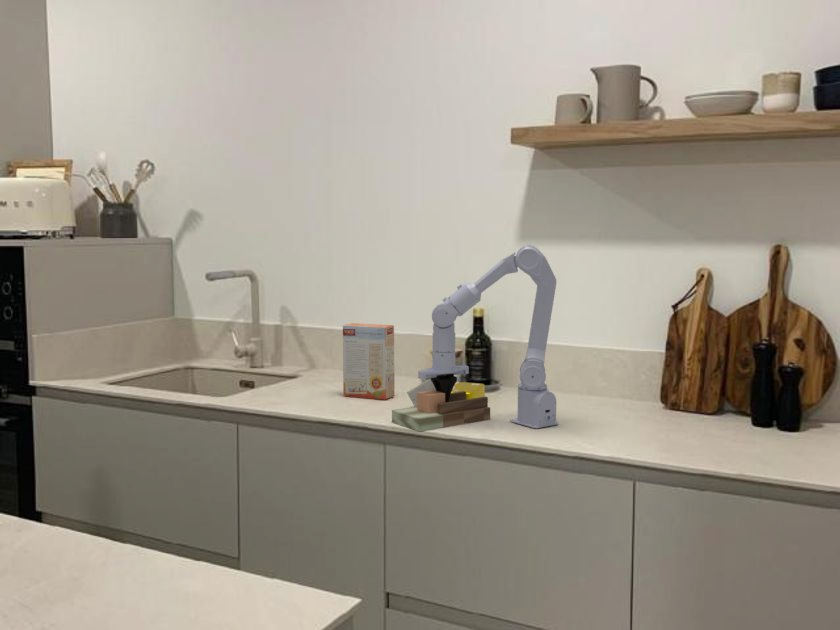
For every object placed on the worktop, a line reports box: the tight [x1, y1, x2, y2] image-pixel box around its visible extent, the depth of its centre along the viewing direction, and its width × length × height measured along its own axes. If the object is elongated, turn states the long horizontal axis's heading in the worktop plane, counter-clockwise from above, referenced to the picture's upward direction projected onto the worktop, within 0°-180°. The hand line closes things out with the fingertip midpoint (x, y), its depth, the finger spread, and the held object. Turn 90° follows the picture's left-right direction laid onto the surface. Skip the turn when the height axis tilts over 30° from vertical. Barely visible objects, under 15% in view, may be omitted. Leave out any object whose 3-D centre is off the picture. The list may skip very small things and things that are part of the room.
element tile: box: [451, 381, 486, 399], centre depth 236 cm, size 15×15×5 cm
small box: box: [406, 378, 455, 407], centre depth 222 cm, size 8×6×10 cm
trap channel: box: [391, 391, 491, 432], centre depth 210 cm, size 12×22×6 cm, turn 125°
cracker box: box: [342, 323, 395, 401], centre depth 239 cm, size 14×6×21 cm, turn 64°
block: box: [417, 390, 445, 414], centre depth 208 cm, size 5×5×4 cm
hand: (443, 404), depth 211 cm, fingers closed
